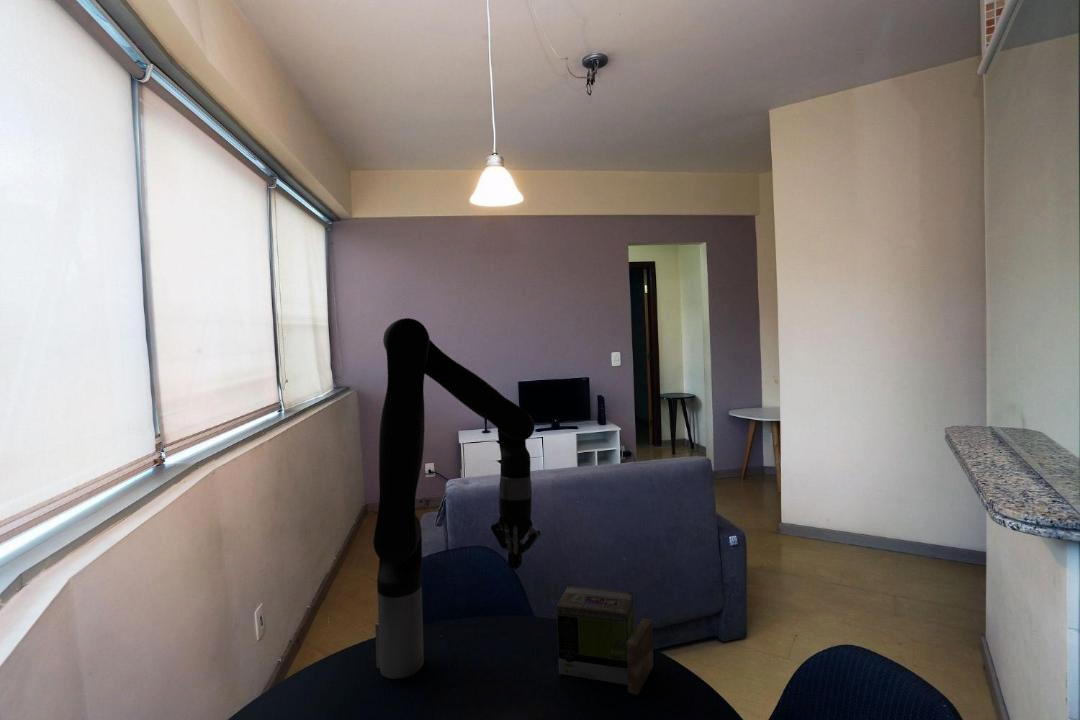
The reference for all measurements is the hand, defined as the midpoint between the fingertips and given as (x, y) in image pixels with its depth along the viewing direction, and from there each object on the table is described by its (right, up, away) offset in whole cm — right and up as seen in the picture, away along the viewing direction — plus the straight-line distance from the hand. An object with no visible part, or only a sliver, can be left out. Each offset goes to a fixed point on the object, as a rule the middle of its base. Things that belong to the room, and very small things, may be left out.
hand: (515, 567), depth 117 cm
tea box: (+18, -17, -10) cm, 27 cm away
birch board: (+27, -17, -15) cm, 35 cm away
